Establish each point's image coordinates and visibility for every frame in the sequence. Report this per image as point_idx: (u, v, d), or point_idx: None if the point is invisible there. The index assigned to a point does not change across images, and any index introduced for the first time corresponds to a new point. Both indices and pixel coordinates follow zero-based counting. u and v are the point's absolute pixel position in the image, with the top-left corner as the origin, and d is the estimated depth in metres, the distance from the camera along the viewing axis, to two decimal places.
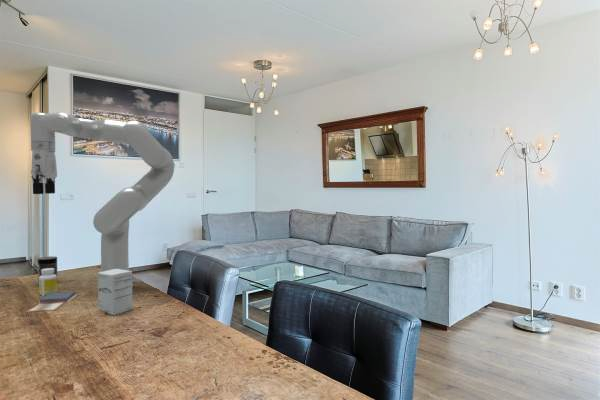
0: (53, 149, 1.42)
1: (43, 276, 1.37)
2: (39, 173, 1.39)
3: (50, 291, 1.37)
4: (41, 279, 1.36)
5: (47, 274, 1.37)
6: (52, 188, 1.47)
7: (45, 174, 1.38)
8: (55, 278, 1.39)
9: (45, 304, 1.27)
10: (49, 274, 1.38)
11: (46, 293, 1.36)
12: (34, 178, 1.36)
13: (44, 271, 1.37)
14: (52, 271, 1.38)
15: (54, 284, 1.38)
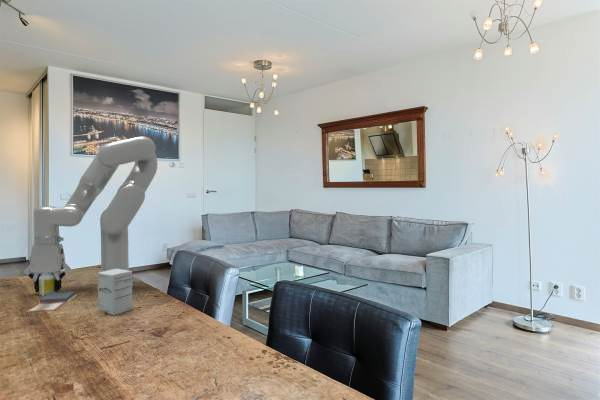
0: None
1: (43, 276, 1.37)
2: None
3: (50, 291, 1.37)
4: (41, 279, 1.36)
5: (47, 274, 1.37)
6: None
7: None
8: (55, 278, 1.39)
9: (45, 304, 1.27)
10: (49, 274, 1.38)
11: (46, 293, 1.36)
12: (63, 275, 1.40)
13: None
14: None
15: (54, 284, 1.38)
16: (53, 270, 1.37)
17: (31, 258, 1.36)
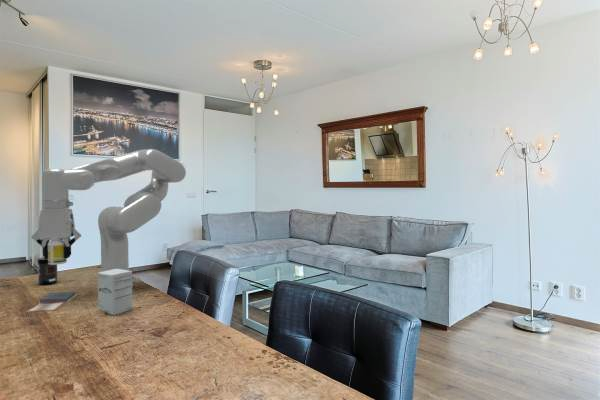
0: None
1: (52, 242, 1.30)
2: None
3: (59, 258, 1.31)
4: (50, 245, 1.30)
5: (57, 239, 1.31)
6: None
7: None
8: (64, 244, 1.32)
9: (45, 304, 1.27)
10: (59, 239, 1.31)
11: (55, 260, 1.30)
12: (73, 241, 1.33)
13: None
14: None
15: None
16: (62, 236, 1.31)
17: (39, 223, 1.29)
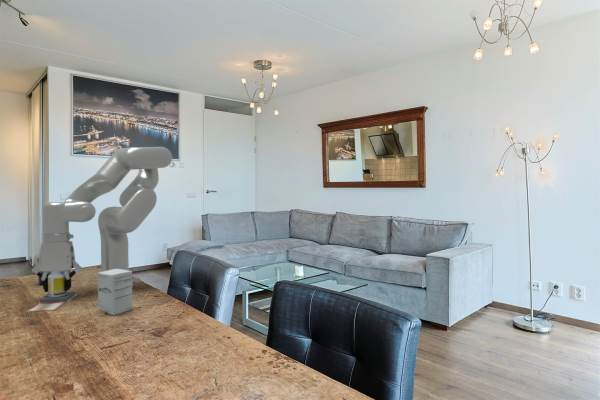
0: None
1: (52, 274, 1.30)
2: None
3: (59, 290, 1.31)
4: (50, 278, 1.30)
5: (57, 272, 1.31)
6: None
7: None
8: (65, 277, 1.33)
9: (45, 304, 1.27)
10: (59, 272, 1.31)
11: (55, 292, 1.30)
12: (73, 274, 1.33)
13: None
14: None
15: None
16: (63, 269, 1.31)
17: (39, 257, 1.29)
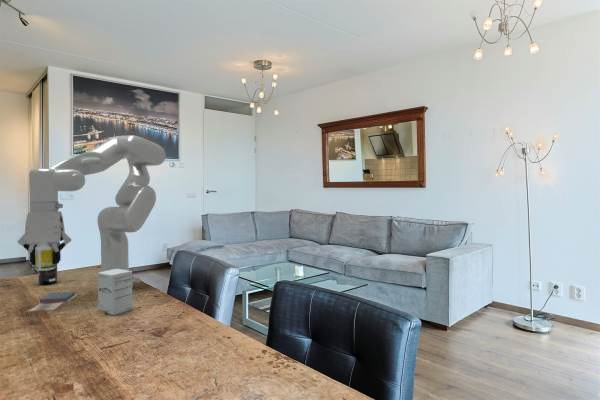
0: None
1: (40, 246, 1.21)
2: None
3: (48, 263, 1.22)
4: (37, 249, 1.21)
5: (45, 244, 1.22)
6: None
7: None
8: (53, 249, 1.24)
9: (45, 304, 1.27)
10: (47, 244, 1.22)
11: (43, 265, 1.21)
12: (63, 246, 1.24)
13: None
14: None
15: (52, 256, 1.23)
16: (51, 240, 1.22)
17: (26, 227, 1.20)
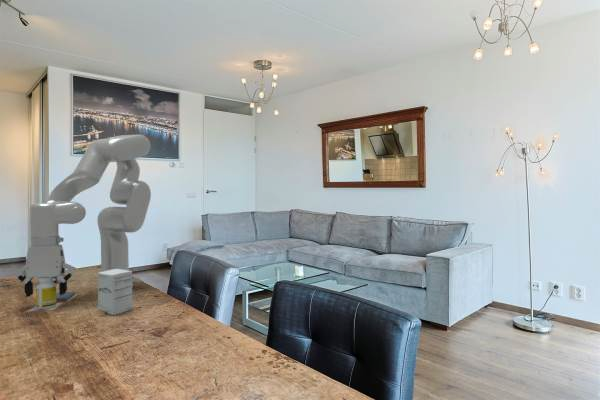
0: None
1: (41, 285, 1.22)
2: None
3: (48, 301, 1.22)
4: (38, 288, 1.21)
5: (46, 282, 1.22)
6: (32, 288, 1.24)
7: None
8: (54, 287, 1.24)
9: None
10: (48, 282, 1.23)
11: (44, 304, 1.22)
12: (70, 276, 1.25)
13: (42, 279, 1.22)
14: (51, 279, 1.23)
15: (53, 294, 1.24)
16: (52, 274, 1.22)
17: (27, 261, 1.21)
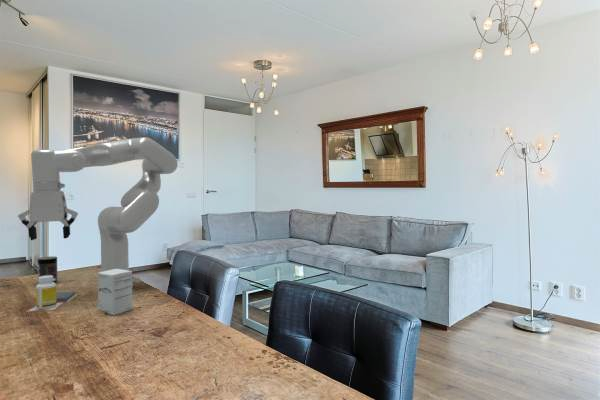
0: None
1: (41, 285, 1.22)
2: None
3: (48, 301, 1.22)
4: (38, 288, 1.21)
5: (46, 282, 1.22)
6: (35, 233, 1.29)
7: None
8: (54, 287, 1.24)
9: None
10: (48, 282, 1.23)
11: (44, 304, 1.22)
12: (73, 221, 1.30)
13: (42, 279, 1.22)
14: (51, 279, 1.24)
15: (53, 294, 1.24)
16: (55, 218, 1.27)
17: (30, 206, 1.25)
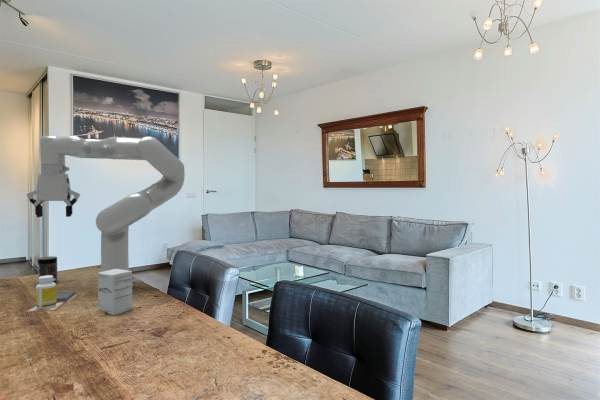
0: None
1: (41, 285, 1.22)
2: None
3: (48, 301, 1.22)
4: (38, 288, 1.21)
5: (46, 282, 1.22)
6: (41, 211, 1.42)
7: None
8: (54, 287, 1.24)
9: None
10: (48, 282, 1.23)
11: (44, 304, 1.22)
12: (75, 201, 1.43)
13: (42, 279, 1.22)
14: (51, 279, 1.24)
15: (53, 294, 1.24)
16: (59, 198, 1.40)
17: (37, 186, 1.39)
